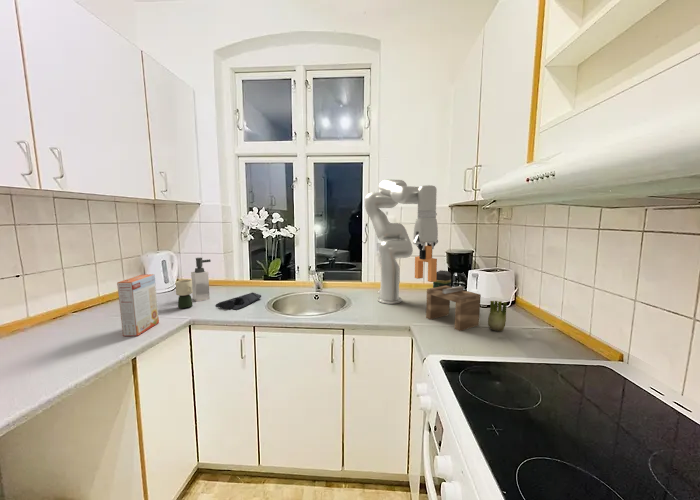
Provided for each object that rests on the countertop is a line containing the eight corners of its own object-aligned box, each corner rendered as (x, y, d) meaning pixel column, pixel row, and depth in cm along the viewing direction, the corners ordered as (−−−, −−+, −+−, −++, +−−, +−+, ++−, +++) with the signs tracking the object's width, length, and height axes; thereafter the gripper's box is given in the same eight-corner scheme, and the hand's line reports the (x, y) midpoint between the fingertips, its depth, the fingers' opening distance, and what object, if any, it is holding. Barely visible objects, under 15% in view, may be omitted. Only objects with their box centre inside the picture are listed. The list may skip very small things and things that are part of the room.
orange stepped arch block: (414, 278, 139) (415, 245, 137) (419, 277, 140) (420, 244, 139) (431, 282, 130) (431, 247, 128) (436, 281, 132) (437, 246, 130)
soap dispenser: (214, 298, 167) (212, 257, 165) (196, 301, 162) (194, 259, 159) (209, 296, 172) (207, 256, 169) (192, 299, 166) (190, 257, 164)
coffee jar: (447, 313, 144) (449, 273, 142) (430, 310, 148) (431, 272, 145) (451, 307, 153) (452, 270, 150) (434, 305, 156) (436, 268, 154)
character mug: (199, 307, 152) (197, 280, 151) (185, 311, 146) (183, 283, 145) (185, 303, 158) (183, 278, 156) (171, 307, 152) (169, 281, 150)
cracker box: (145, 323, 131) (141, 273, 128) (159, 323, 131) (156, 273, 128) (121, 336, 117) (116, 281, 114) (137, 336, 117) (132, 281, 114)
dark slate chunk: (266, 299, 167) (266, 291, 166) (235, 312, 147) (235, 302, 146) (244, 296, 173) (244, 288, 172) (211, 307, 153) (211, 298, 153)
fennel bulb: (506, 331, 123) (508, 301, 122) (500, 334, 120) (502, 303, 119) (491, 326, 128) (493, 298, 126) (485, 329, 125) (487, 300, 123)
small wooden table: (425, 317, 138) (427, 285, 136) (444, 313, 145) (446, 282, 143) (459, 331, 123) (461, 294, 121) (478, 325, 129) (480, 290, 128)
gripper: (434, 215, 139) (433, 256, 141) (405, 215, 131) (405, 259, 133) (447, 215, 133) (446, 258, 135) (418, 215, 125) (417, 261, 127)
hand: (425, 258), depth 134 cm, fingers closed on orange stepped arch block, 3 cm apart
